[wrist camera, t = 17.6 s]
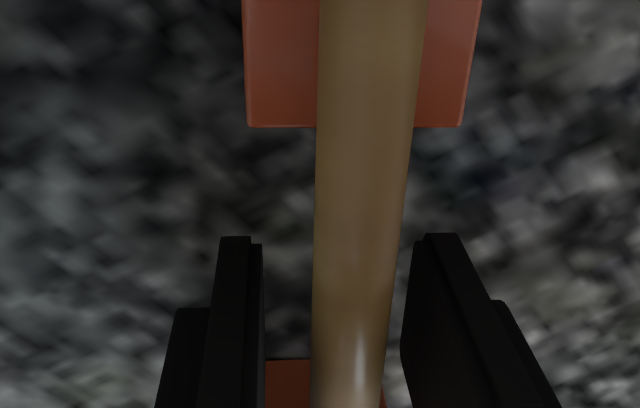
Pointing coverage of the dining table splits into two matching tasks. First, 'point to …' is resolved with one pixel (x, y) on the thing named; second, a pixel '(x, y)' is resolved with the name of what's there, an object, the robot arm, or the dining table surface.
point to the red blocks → (301, 102)
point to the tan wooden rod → (360, 189)
